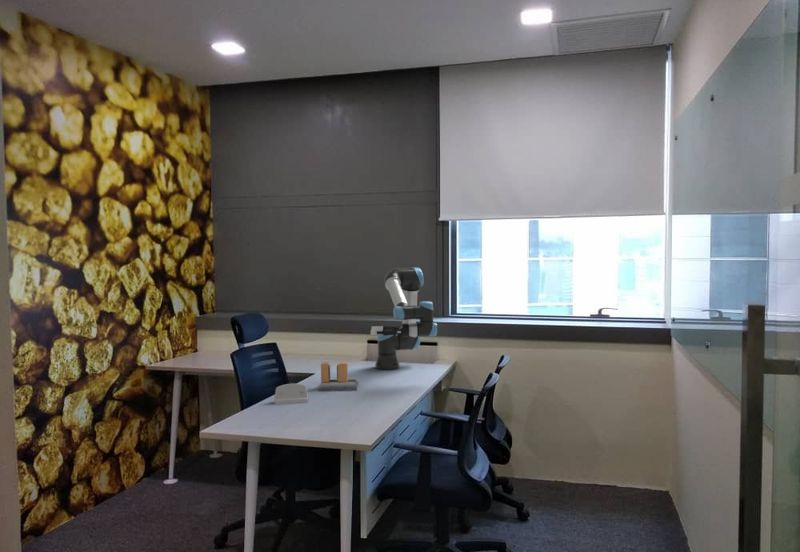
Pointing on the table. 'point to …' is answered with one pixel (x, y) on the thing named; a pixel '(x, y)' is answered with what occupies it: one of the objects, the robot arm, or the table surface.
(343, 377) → the orange wooden block
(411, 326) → the robot arm
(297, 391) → the hinge
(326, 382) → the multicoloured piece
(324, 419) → the table surface
